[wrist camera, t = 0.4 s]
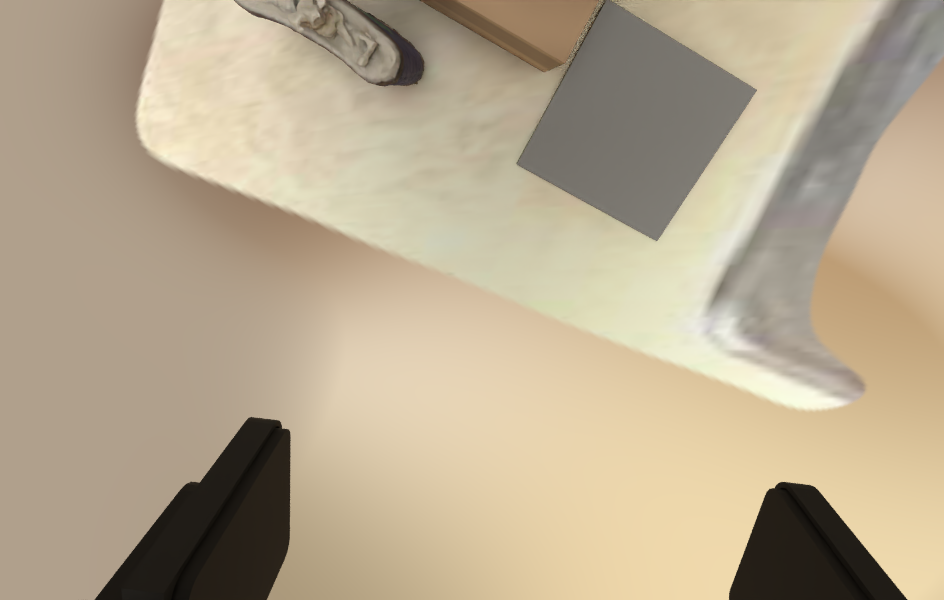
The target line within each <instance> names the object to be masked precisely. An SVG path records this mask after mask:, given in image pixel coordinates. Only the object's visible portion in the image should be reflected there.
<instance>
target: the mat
mask: <svg viewBox="0 0 944 600" xmlns="http://www.w3.org/2000/svg"><path fill="white" fill-rule="evenodd" d="M756 91H757V90H756V89H755V88H753V87H751V86H750V85H748V84H746V83H745V82H743V81H741V80H740V79H738V78H737V77H735V76H733V75H732V74H730V73H728V72H727V71H725V70H723V69H722V68H720V67H718V66H717V65H715V64H714V63H712V62H710V61H709V60H707V59H705V58H704V57H702V56H700V55H699V54H697V53H695V52H694V51H692V50H691V49H689V48H687V47H686V46H684V45H682V44H681V43H679V42H677V41H676V40H674V39H672V38H671V37H669V36H668V35H666V34H664V33H663V32H661V31H659V30H658V29H656V28H654V27H653V26H651V25H649V24H648V23H646V22H645V21H643V20H641V19H640V18H638V17H636V16H635V15H633V14H631V13H630V12H628V11H626V10H625V9H623V8H622V7H620V6H618V5H617V4H615V3H613V2H612V1H610V0H605V2H604V4H603V6H602V8H601V10H600V12H599V13H598V15H597V17H596V19H595V21H594V23H593V24H592V26H591V28H590V30H589V32H588V34H587V35H586V37H585V39H584V41H583V43H582V45H581V46H580V48H579V50H578V52H577V54H576V56H575V58H574V59H573V61H572V63H571V65H570V67H569V69H568V70H567V72H566V74H565V76H564V78H563V80H562V81H561V83H560V85H559V87H558V89H557V91H556V92H555V94H554V96H553V98H552V100H551V102H550V104H549V105H548V107H547V109H546V111H545V113H544V115H543V116H542V118H541V120H540V122H539V124H538V126H537V127H536V129H535V131H534V133H533V135H532V137H531V138H530V140H529V142H528V144H527V146H526V148H525V150H524V151H523V153H522V155H521V157H520V159H519V161H518V162H517V165H519V166H521V167H522V168H524V169H526V170H528V171H530V172H532V173H533V174H535V175H537V176H539V177H541V178H543V179H544V180H546V181H548V182H550V183H552V184H553V185H555V186H557V187H559V188H561V189H563V190H564V191H566V192H568V193H570V194H572V195H573V196H575V197H577V198H579V199H581V200H583V201H584V202H586V203H588V204H590V205H592V206H594V207H595V208H597V209H599V210H601V211H603V212H604V213H606V214H608V215H610V216H612V217H614V218H615V219H617V220H619V221H621V222H623V223H625V224H626V225H628V226H630V227H632V228H634V229H635V230H637V231H639V232H641V233H643V234H645V235H646V236H648V237H650V238H652V239H654V240H656V241H658V239H659V238H660V236H661V235H662V233H663V232H664V230H665V228H666V227H667V225H668V224H669V222H670V221H671V219H672V218H673V216H674V215H675V213H676V212H677V210H678V209H679V207H680V206H681V204H682V203H683V201H684V200H685V198H686V197H687V195H688V194H689V192H690V191H691V189H692V188H693V186H694V185H695V183H696V182H697V180H698V179H699V177H700V176H701V174H702V173H703V171H704V170H705V168H706V167H707V165H708V163H709V162H710V160H711V159H712V157H713V156H714V154H715V153H716V151H717V150H718V148H719V147H720V145H721V144H722V142H723V141H724V139H725V138H726V136H727V135H728V133H729V132H730V130H731V129H732V127H733V126H734V124H735V123H736V121H737V120H738V118H739V117H740V115H741V114H742V112H743V111H744V109H745V108H746V106H747V105H748V103H749V102H750V100H751V98H752V97H753V95H754V94H755V92H756Z"/></svg>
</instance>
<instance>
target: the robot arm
mask: <svg viewBox="0 0 944 600" xmlns="http://www.w3.org/2000/svg"><path fill="white" fill-rule="evenodd" d="M289 539H290V431H289V430H288V429H282V425H281V422H280V421H278V420H270V419H262V418H254V417H250V418H248V419H247V420H246V422H245V423H244V424H243V426H242V427H241V428H240V430H239V431H238V432H237V434H236V435H235V436H234V438H233V439H232V440H231V442H230V443H229V444H228V446H227V447H226V448H225V450H224V451H223V452H222V454H221V455H220V456H219V458H218V459H217V460H216V462H215V463H214V465H213V466H212V467H211V468H210V470H209V471H208V473H207V474H206V475H205V476H204V478H203V479H202V480H201V482H200V483H197V482H190V483H187V484H186V485H185V486H184V487H183V488H182V489H181V490H180V491H179V492H178V494H177V495H176V496H175V497H174V499H173V500H172V501H171V503H170V504H169V505H168V506H167V508H166V509H165V510H164V512H163V513H162V514H161V515H160V517H159V518H158V519H157V520H156V522H155V523H154V524H153V526H152V527H151V528H150V530H149V531H148V532H147V533H146V535H145V536H144V537H143V539H142V540H141V541H140V542H139V544H138V545H137V546H136V547H135V549H134V550H133V551H132V553H131V554H130V555H129V557H128V558H127V559H126V560H125V561H124V563H123V564H122V565H121V567H120V568H119V569H118V571H117V572H116V573H115V574H114V576H113V577H112V578H111V579H110V581H109V582H108V583H107V584H106V586H105V587H104V588H103V590H102V591H101V592H100V594H99V595H98V596H97V597H96V599H95V600H267V598H268V596H269V593H270V591H271V589H272V587H273V584H274V582H275V580H276V578H277V575H278V573H279V571H280V568H281V566H282V564H283V562H284V559H285V556H286V554H287V550H288V545H289ZM729 600H907V599H906V597H905V596H904V595H903V594H902V593H901V591H900V590H899V589H898V588H897V587H896V585H895V584H894V583H893V581H892V580H891V579H890V578H889V577H888V575H887V574H886V573H885V572H884V571H883V569H882V568H881V567H880V566H879V564H878V563H877V562H876V561H875V559H874V558H873V557H872V556H871V555H870V554H869V552H868V551H867V550H866V548H865V547H864V546H863V545H862V544H861V542H860V541H859V540H858V539H857V538H856V536H855V535H854V534H853V532H852V531H851V530H850V529H849V527H848V526H847V525H846V524H845V523H844V521H843V520H842V519H841V518H840V516H839V515H838V514H837V513H836V511H835V510H834V509H833V508H832V507H831V505H830V504H829V503H828V502H827V501H826V499H825V498H824V497H823V495H822V494H821V493H820V492H819V491H818V490H817V489H816V488H815V487H813V486H811V485H804V484H796V483H788V482H780V483H778V484H777V485H776V487H775V488H772V489H769V490H768V491H767V493H766V495H765V498H764V501H763V503H762V506H761V508H760V511H759V514H758V516H757V519H756V522H755V525H754V527H753V530H752V533H751V535H750V538H749V541H748V543H747V547H746V549H745V551H744V554H743V557H742V559H741V562H740V565H739V568H738V570H737V573H736V576H735V578H734V581H733V584H732V586H731V589H730V593H729Z"/></svg>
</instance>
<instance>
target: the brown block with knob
mask: <svg viewBox="0 0 944 600" xmlns="http://www.w3.org/2000/svg"><path fill="white" fill-rule="evenodd" d="M420 1H422V2H424V3H425V4H427V5H429V6H430V7H432V8H434V9H436V10H437V11H439V12H441V13H443V14H444V15H446V16H448V17H449V18H451V19H453V20H455V21H456V22H458V23H460V24H462V25H463V26H465V27H467V28H469V29H470V30H472V31H474V32H475V33H477V34H479V35H481V36H482V37H484V38H486V39H488V40H489V41H491V42H493V43H494V44H496V45H498V46H500V47H501V48H503V49H505V50H507V51H508V52H510V53H512V54H514V55H515V56H517V57H519V58H520V59H522V60H524V61H526V62H527V63H529V64H531V65H533V66H534V67H536V68H538V69H539V70H541V71H543V72H546V71H548V70H550V69H553V68H555V67H557V66H560V65H562V64H564V63H565V62H566V60H567V59H568V57H569V55H570V53H571V51H572V49H573V47H574V46H575V44H576V42H577V40H578V38H579V36H580V34H581V33H582V31H583V29H584V27H585V25H586V23H587V21H588V20H589V18H590V16H591V14H592V12H593V10H594V8H595V7H596V5H597V3H598V1H599V0H420Z"/></svg>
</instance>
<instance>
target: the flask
mask: <svg viewBox="0 0 944 600" xmlns="http://www.w3.org/2000/svg"><path fill="white" fill-rule="evenodd" d="M234 1H235V2H236V3H237V4H238V5H239V6H240V7H242V8H243V9H245V10H246V11H248V12H249V13H251V14H252V15H254V16H257V17H260V18H265V19H268V20H271V21H274V22H277V23H280V24H282V25H285V26H287V27H289V28H291V29H292V30H293V31H295V32H298V33H300V34H302V35H303V36H304V37H306V38H308V39H310V40H312V41H313V42H315V43H317V44H318V45H320V46H322V47H324V48H325V49H327V50H328V51H330V52H331V53H332V54H334V55H335V56H336V57H338V58H339V59H341V60H342V61H343V62H344V63H346V64H347V65H348V66H349V67H350V68H351V69H352V70H353V71H354V72H355V73H356V74H358V75H359V76H360V77H362V78H363V79H364V80H366V81H367V82H369V83H372V84H376V85H379V86H388V85H401V86H407V85H411V84H417V81H418V80H420V79H421V76H422V73H423V71H424V60H423V58H422V56H421V54H420V53H419V52H418V51H417V50H416V49H415V47H414V46H413V45H412V44H411V43H410V42H408V41H407V40H406V39H405V38H403V37H402V36H401V35H400V34H399V33H398V32H397V31H396V30H395V29H392V28H390V26H389V25H387V24H385V23H384V22H383V21H381V20H379V19H377V18H375V16H373V15H371V14H370V13H366V12H364V11H363V10H361V9H359V8H357V7H356V6H354V5H353V4H351V3H350V2H348V1H347V0H234Z"/></svg>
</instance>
